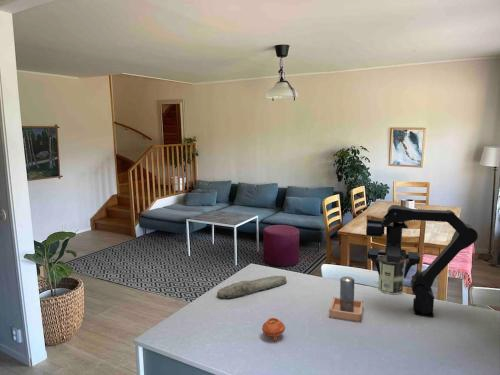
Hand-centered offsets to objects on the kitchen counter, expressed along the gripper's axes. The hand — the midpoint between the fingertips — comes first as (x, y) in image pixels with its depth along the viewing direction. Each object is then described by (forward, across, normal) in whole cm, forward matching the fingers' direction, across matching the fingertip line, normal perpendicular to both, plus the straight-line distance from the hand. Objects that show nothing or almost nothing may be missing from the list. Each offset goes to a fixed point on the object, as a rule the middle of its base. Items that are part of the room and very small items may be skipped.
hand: (391, 276), depth 147 cm
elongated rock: (+14, -57, -1) cm, 59 cm away
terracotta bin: (+13, -16, -10) cm, 23 cm away
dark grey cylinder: (+12, -16, -10) cm, 22 cm away
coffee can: (+13, 0, +18) cm, 22 cm away
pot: (+13, -38, -35) cm, 53 cm away
